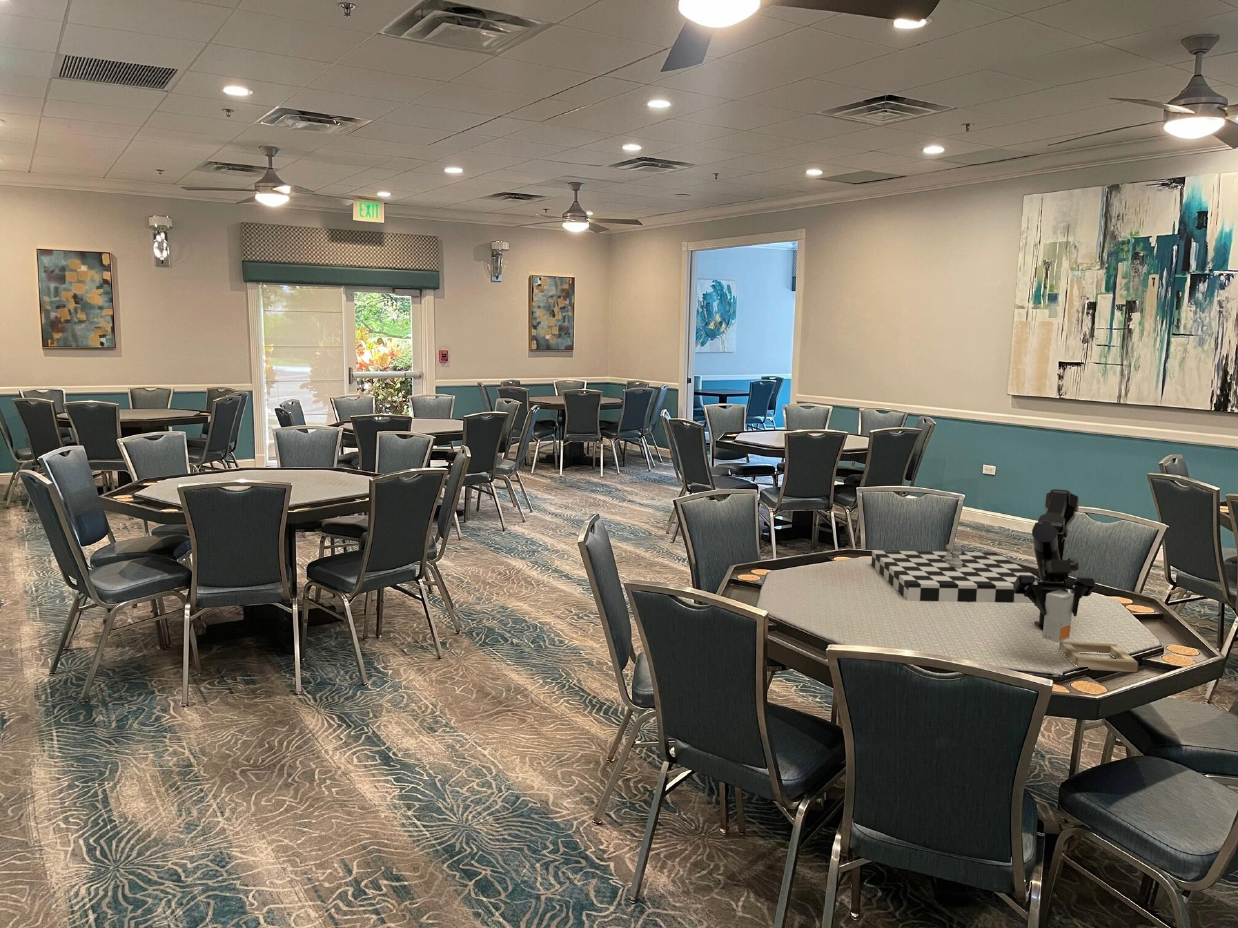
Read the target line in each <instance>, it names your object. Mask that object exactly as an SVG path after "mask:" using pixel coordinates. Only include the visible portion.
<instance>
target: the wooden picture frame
mask: <svg viewBox="0 0 1238 928" xmlns="http://www.w3.org/2000/svg"><path fill="white" fill-rule="evenodd" d="M1058 643H1059V646H1058V651H1059V650H1061V652H1063V654H1065V656H1067V658H1069V659H1070V660H1071V661H1072V662H1073V663H1074V664H1075V665H1077V666H1078V667H1088V668H1089V669H1090V670H1091V671H1092V670H1093V671H1109V672H1125V673H1126V672H1128V673H1130V672H1131V673H1138V667H1139V662H1138V661H1137V660H1136V659H1134V658H1133V657H1132V655H1131V656H1130V655H1129V654H1128V653H1127V652H1126V651H1124V650H1123V649H1122V648H1121V647H1119V646H1118V645H1117V644H1116V643H1102V642H1101V643H1100V642H1082V641H1065V640H1063V641H1060V642H1058ZM1061 652H1060V653H1061ZM1079 652H1097V653H1098V652H1099V653H1110V654H1111V655H1112V656H1114V657H1115V658H1116V659H1113V658H1107V657H1106V658H1105V657H1089V656H1088V657H1087V656H1084V655H1083V654H1080V653H1079ZM1063 654H1062V655H1063ZM1065 656H1064V657H1065ZM1067 658H1066V659H1067ZM1070 660H1069V661H1070ZM1071 661H1070V662H1071ZM1072 662H1071V663H1072ZM1073 663H1072V664H1073ZM1074 664H1073V665H1074ZM1075 665H1074V666H1075Z"/></svg>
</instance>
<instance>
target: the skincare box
mask: <svg viewBox="0 0 1238 928" xmlns="http://www.w3.org/2000/svg"><path fill="white" fill-rule="evenodd" d="M1073 596H1074V594H1073V593H1071V592H1070V591H1068V592H1065V591H1061V590H1057V591H1053V592H1051V593H1048V594H1046V604H1045V607H1046V615H1045V616H1044V626H1043V630H1042V639H1044V640H1047V641H1051V642H1053V643H1060V641H1065V640H1069V639H1070V638H1071V637H1070V636H1071V627H1072V626H1071V625H1072V617H1073V613H1072V607H1073Z"/></svg>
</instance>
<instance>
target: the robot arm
mask: <svg viewBox="0 0 1238 928" xmlns="http://www.w3.org/2000/svg"><path fill="white" fill-rule="evenodd" d="M1044 506H1045V510H1046V512H1045V513H1043V514H1041V515H1040V516H1038V517H1039V518H1038V520H1037V521H1036V522H1035V523H1034V525H1033V527H1032V530H1031V535H1032V539H1033V550H1034V556H1035V561H1036V564H1037V569H1036V573H1037V574H1038V575H1039V577H1038V578H1039V581H1038V580H1037V579H1035V576H1036V575H1034V574H1033V575H1034V576H1033V575H1019V576H1018V577H1017V579H1016V581H1015V582H1014V584H1013V589H1014V593H1015V594H1024V596H1025V597H1028V598H1029V599H1030V600H1031V601H1032V602H1033V603H1032V604H1034V605H1033V606H1034V607H1036V608H1037V609H1038V610H1039V616H1038V621H1034V624H1035V625H1036V627H1038V628H1039V629H1040V630H1042V631H1043V626H1044V616H1045V615H1046V607H1045V604H1046V594H1048V593H1051V592H1053V591H1057V590H1061V591H1065V592H1069V593H1073V594H1074V596H1073V607H1072V616H1073V617H1074V618H1076V617H1077V615H1078V611H1079V606H1080V605H1079V604H1080V599H1082V597H1088V596H1091V594H1092V593H1093V592H1094V590H1095V589H1096V587H1097V584H1096V580H1095V579H1094V578H1093V577H1090V576H1088V577H1087V576H1077V577H1076V578H1075V580H1074V581H1066V580H1067V579H1068V578H1069V574H1072V573H1073V572H1077V571H1078V570H1079V568H1080V567H1079V562H1078V561H1079V560H1078V558H1077V557H1069V558H1067V559H1065V551H1066V544H1067V537H1068V536H1069V533H1070V531H1069V529H1068V526H1070V524H1071V523H1072V522H1073V521H1074V520H1075V518H1076V512H1077V513H1078V512H1079V507H1080V499H1079V496H1078V495H1075V494H1074V493H1072V492H1071V491H1070V490H1068V489H1058V488H1055V489H1050V492H1047V493H1046V494H1045V502H1044Z"/></svg>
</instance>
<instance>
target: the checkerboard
mask: <svg viewBox="0 0 1238 928" xmlns="http://www.w3.org/2000/svg"><path fill="white" fill-rule="evenodd" d="M945 549H946V550H947V551H926V550H925V551H918V550H913V551H912V550H911V551H910V550H909V551H907V550H872V551H871V566H872V568H874V569H875V570H876V572H877V573H879V574H880V576H882V577H883V578H884V579H885V581H887V582H888V583H889V584H890V585H891V586H892V587H893V588H894V589H895V590H896V591H897V592H898V593H899V594H900V595H901V596H902V597H904V599H905V600H906V601H908V602H953V603H954V602H956V603H957V602H958V603H959V602H960V603H962V602H964V603H1012V604H1013V603H1016V604H1017V603H1019V604H1021V603H1023V604H1034V603H1033V602H1032V601H1031V600H1030V599H1029V598H1028V597H1025V596H1024V594H1015V593H1014V589H1013V584H1014V582H1015V581H1016V579H1017V577H1018V576H1019V575H1033V576H1035V579H1037V580H1038V581H1039V578H1040V577H1038V576H1036V575H1034V574H1033V573H1031V572H1030V571H1028V570H1026V569H1024V568H1022V567H1021V566H1019V565H1018V564H1016V563H1014V562H1013V561H1012V560H1010V559H1008V558H1006V557H1004V556H1002V555H1001V554H1000V553H998V552H981V551H979V552H977V551H972V552H971V551H970V552H969V551H961V550H962V545H961V542H960V541H955V542H954V544H953V545H952V544H945Z"/></svg>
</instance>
